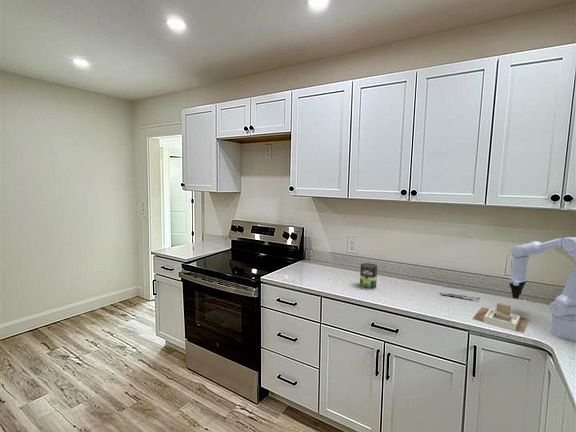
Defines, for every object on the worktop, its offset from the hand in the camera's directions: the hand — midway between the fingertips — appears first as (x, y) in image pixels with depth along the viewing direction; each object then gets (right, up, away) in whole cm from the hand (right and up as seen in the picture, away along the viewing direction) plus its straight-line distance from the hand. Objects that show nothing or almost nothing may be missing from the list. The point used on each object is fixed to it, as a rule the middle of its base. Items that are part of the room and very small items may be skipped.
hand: (516, 296), depth 154 cm
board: (-11, -10, -5) cm, 16 cm away
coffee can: (-63, -5, +40) cm, 75 cm away
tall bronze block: (-13, -9, -9) cm, 18 cm away
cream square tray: (-13, -11, -8) cm, 19 cm away
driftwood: (-14, -8, +25) cm, 30 cm away
